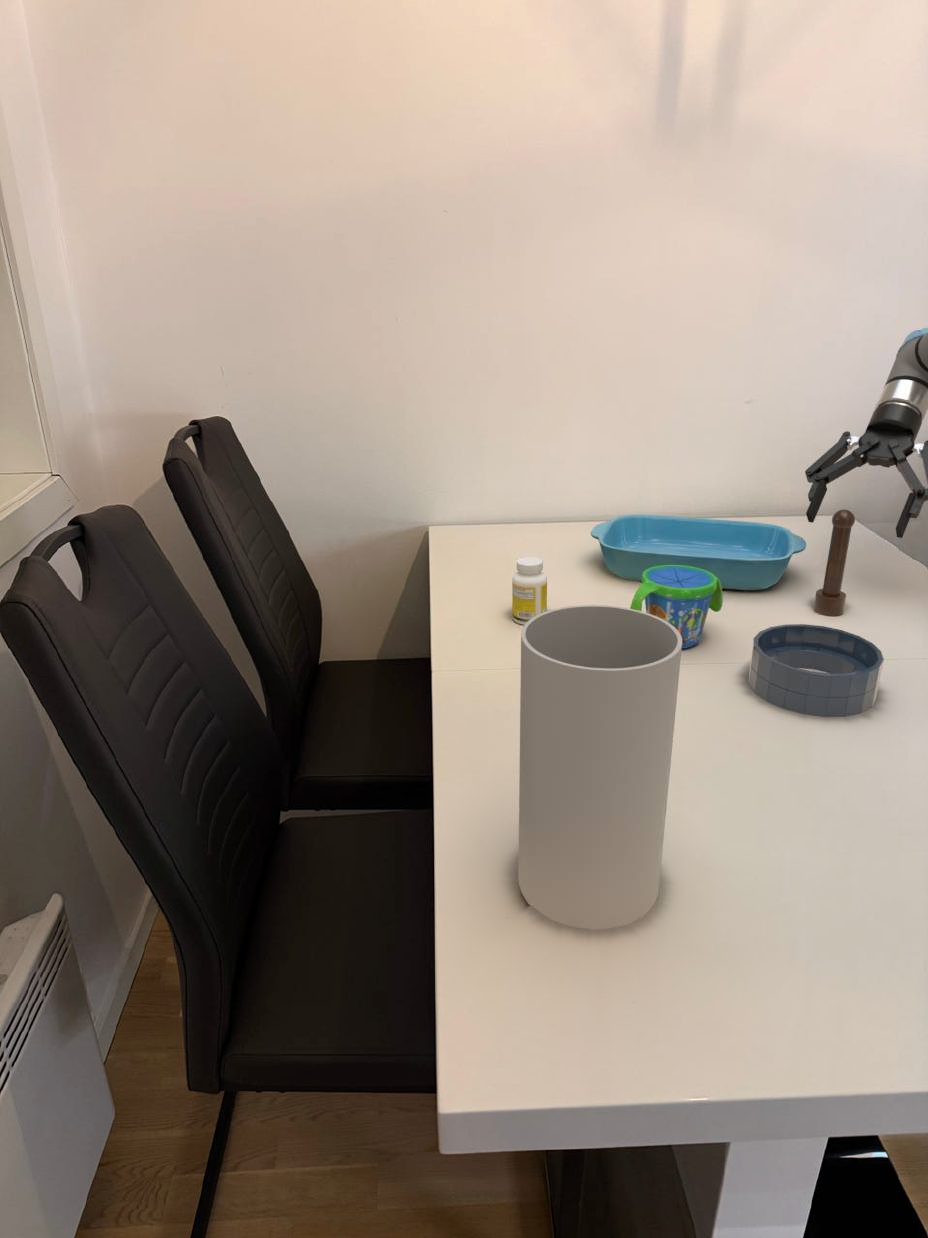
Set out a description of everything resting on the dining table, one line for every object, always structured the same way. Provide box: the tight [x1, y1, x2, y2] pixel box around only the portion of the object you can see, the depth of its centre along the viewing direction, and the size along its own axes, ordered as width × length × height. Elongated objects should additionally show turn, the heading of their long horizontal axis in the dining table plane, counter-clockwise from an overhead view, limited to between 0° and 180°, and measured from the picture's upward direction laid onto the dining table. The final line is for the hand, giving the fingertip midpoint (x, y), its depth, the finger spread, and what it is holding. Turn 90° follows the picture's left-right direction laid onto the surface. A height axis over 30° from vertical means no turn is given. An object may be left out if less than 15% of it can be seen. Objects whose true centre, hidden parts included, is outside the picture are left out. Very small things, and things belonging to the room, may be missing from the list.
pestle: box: [813, 509, 856, 617], centre depth 130 cm, size 4×4×17 cm
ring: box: [748, 623, 885, 718], centre depth 107 cm, size 15×15×6 cm
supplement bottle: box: [511, 556, 548, 626], centre depth 130 cm, size 5×5×10 cm
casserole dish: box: [590, 514, 807, 591], centre depth 150 cm, size 37×22×7 cm, turn 71°
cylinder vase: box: [517, 604, 683, 931], centre depth 71 cm, size 12×12×25 cm
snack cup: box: [629, 565, 724, 649], centre depth 122 cm, size 16×10×10 cm
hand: (852, 525), depth 133 cm, fingers open, 13 cm apart
